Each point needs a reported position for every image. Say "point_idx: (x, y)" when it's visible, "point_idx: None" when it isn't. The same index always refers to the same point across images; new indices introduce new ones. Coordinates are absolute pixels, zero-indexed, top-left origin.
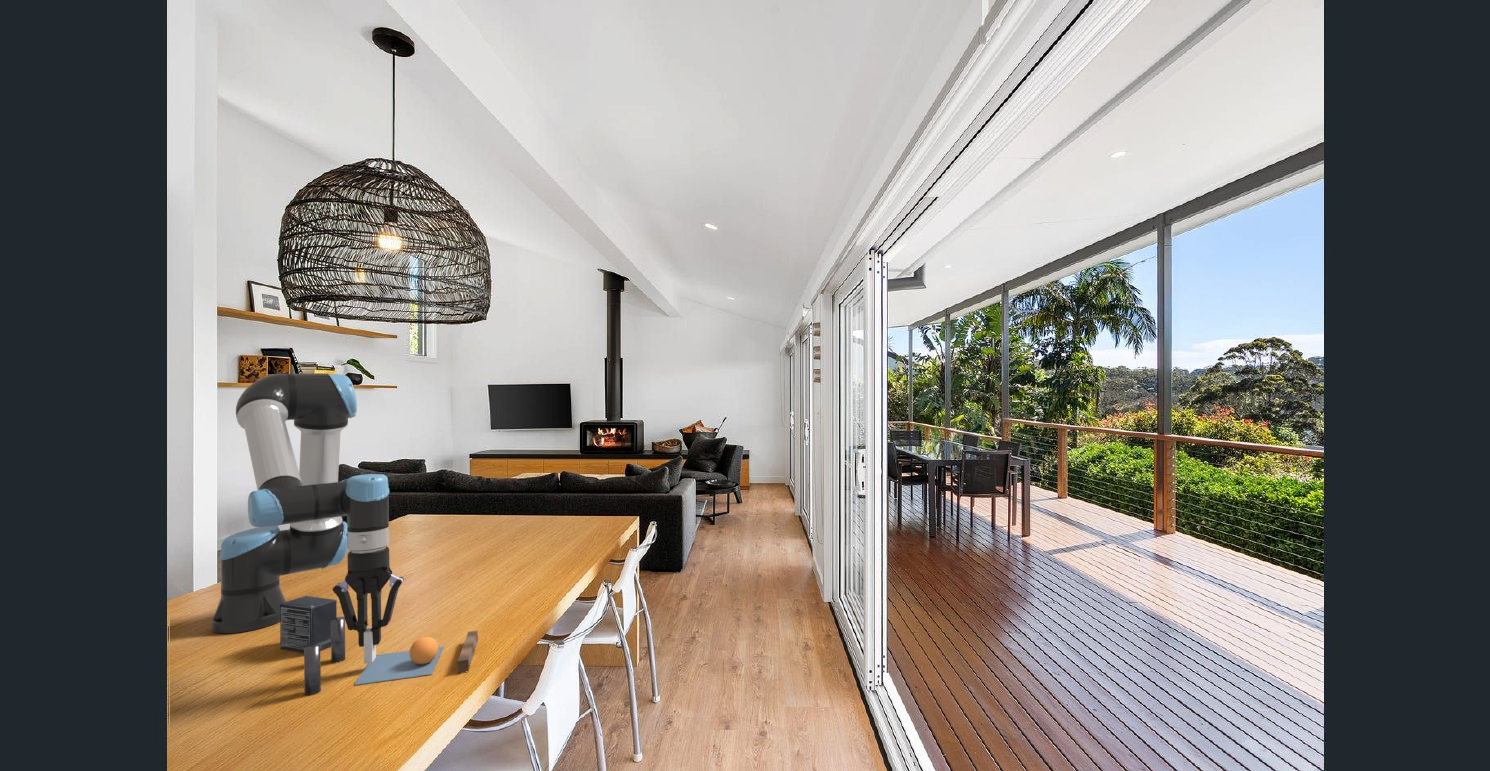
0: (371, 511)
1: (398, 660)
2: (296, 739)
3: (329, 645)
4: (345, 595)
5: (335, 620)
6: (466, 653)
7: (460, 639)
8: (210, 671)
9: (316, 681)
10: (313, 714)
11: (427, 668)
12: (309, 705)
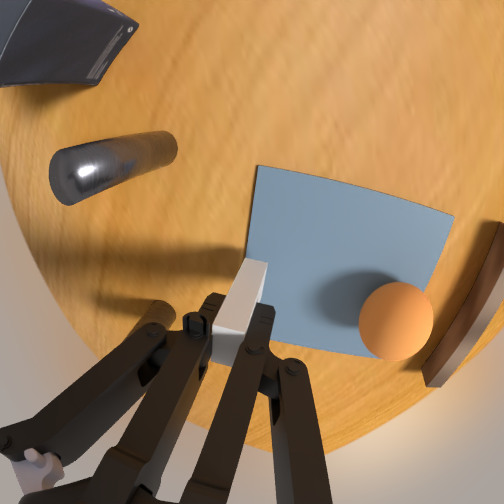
0: None
1: (332, 251)
2: (199, 411)
3: (123, 43)
4: (74, 456)
5: (63, 195)
6: (454, 364)
7: (493, 183)
8: (6, 128)
9: None
10: None
11: None
12: None
